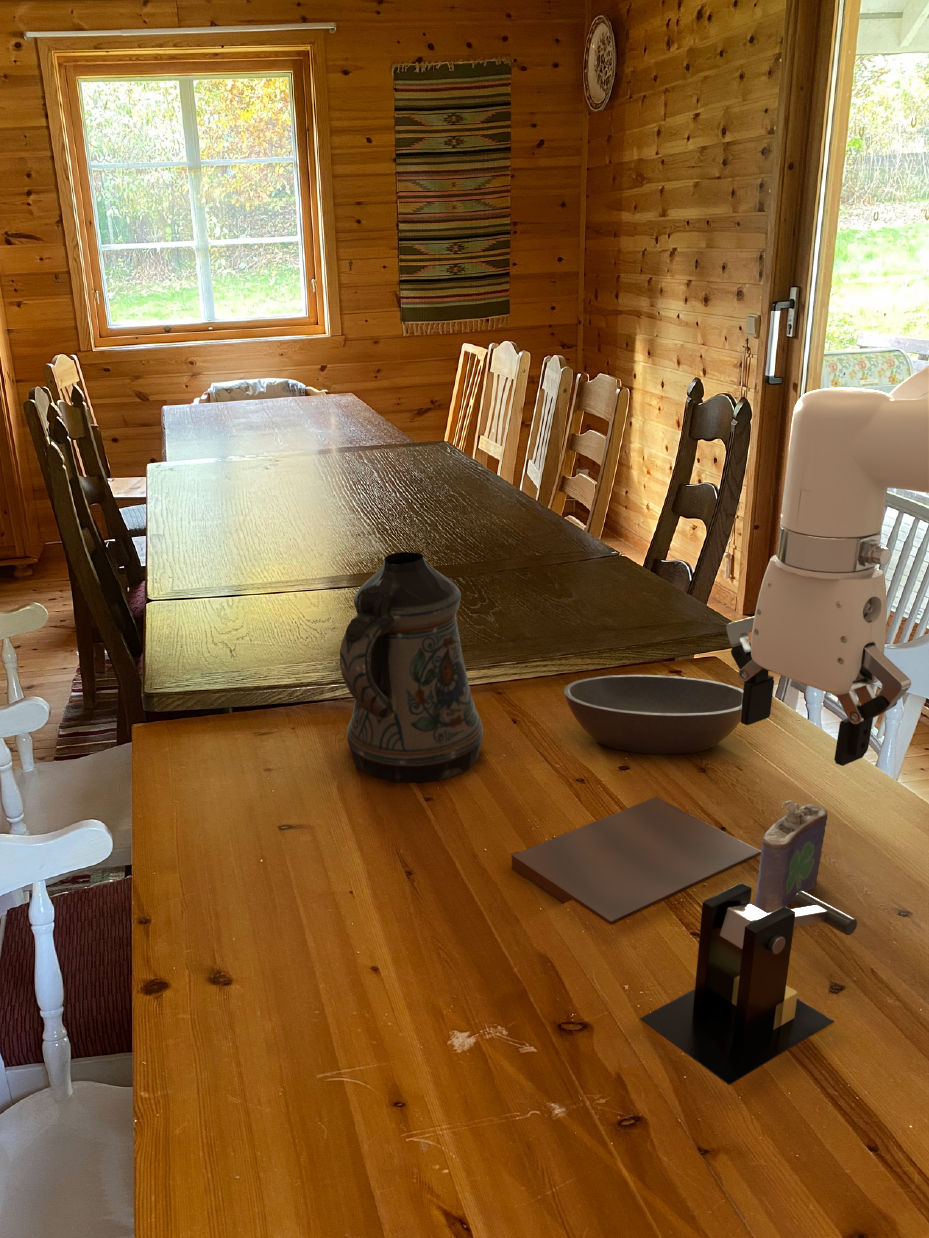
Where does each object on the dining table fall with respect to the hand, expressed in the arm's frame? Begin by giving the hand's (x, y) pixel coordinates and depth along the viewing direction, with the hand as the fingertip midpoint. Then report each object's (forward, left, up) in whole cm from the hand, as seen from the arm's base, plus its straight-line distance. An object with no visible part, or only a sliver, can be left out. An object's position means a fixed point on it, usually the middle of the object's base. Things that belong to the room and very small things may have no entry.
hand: (800, 739), depth 95 cm
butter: (+14, +9, -16) cm, 23 cm away
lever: (+13, +9, -10) cm, 18 cm away
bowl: (-16, -32, -17) cm, 40 cm away
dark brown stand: (+17, +9, -17) cm, 26 cm away
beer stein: (+10, -46, -17) cm, 50 cm away
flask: (0, 0, -17) cm, 17 cm away
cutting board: (+6, -13, -17) cm, 22 cm away
